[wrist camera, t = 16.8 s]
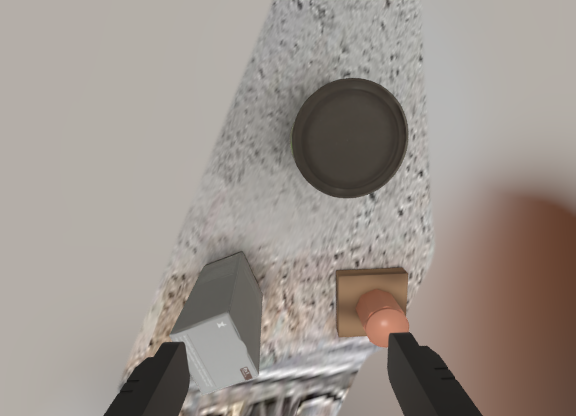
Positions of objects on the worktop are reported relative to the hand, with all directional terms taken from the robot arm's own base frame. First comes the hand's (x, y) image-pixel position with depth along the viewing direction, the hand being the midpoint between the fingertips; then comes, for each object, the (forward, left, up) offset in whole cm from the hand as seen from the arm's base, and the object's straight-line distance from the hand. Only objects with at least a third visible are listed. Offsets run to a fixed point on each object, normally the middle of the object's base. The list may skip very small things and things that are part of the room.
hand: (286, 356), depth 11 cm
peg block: (+16, +12, -30) cm, 36 cm away
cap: (+16, +12, -28) cm, 35 cm away
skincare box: (+12, -8, -30) cm, 34 cm away
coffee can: (-8, +6, -30) cm, 32 cm away
